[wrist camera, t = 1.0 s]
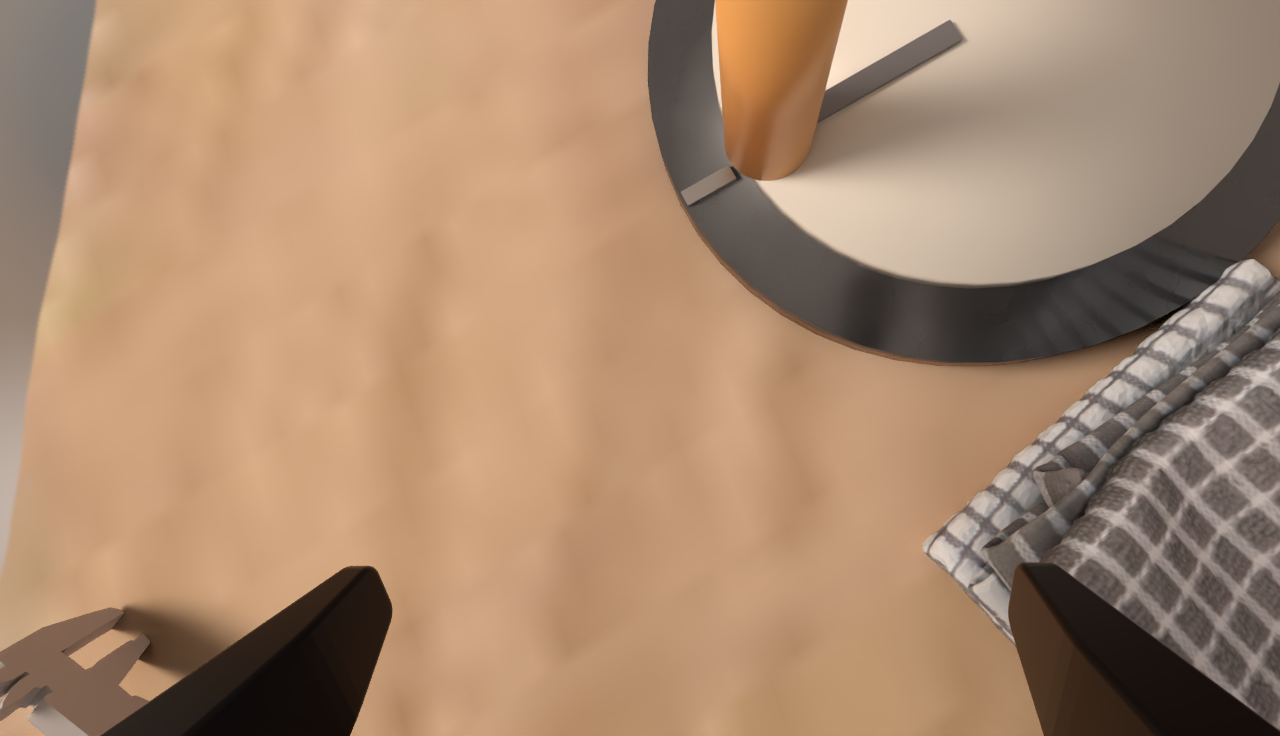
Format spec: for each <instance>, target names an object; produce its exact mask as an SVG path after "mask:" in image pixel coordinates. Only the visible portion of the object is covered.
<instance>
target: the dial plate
mask: <svg viewBox="0 0 1280 736" xmlns="http://www.w3.org/2000/svg"><path fill="white" fill-rule="evenodd" d="M714 4H715V0H656V2H655V6H654V12H653V18H652V25H651V31H650V38H649V49H648V87H649V95H650V104H651V112H652V119H653V123H654V127H655V131H656V135H657V139H658V143H659V146H660V150H661V154H662V158H663V161H664V164H665V167H666V171H667V173H668V176H669V178H670V180H671V183H672V185H673V188H674V190H675V192H676V195H677V197H678V200H679V202H680V204H681V206H682V208H683V209H684V211H685V213H686V215H687V216H688V218H689V220H690V221H691V223H692V225H693V227H694V228H695V230H696V232H697V233H698V235H699V236H700V238H701V239H702V240H703V242H704V243H705V244H706V245H707V247H708V248H709V249H710V250H711V252H712V253H713V254H714V256H715V257H716V258H717V259H718V261H719V262H720V263H721V264H722V265H723V266H724V267H725V268H726V269H727V270H728V271H729V272H730V273H731V274H732V275H733V276H734V277H735V278H736V279H737V280H738V281H739V282H740V283H741V284H742V285H743V286H744V287H745V288H746V289H747V290H748V291H749V292H751V293H752V294H753V295H755V296H756V297H758V298H759V299H760V300H762V301H763V302H764V303H766V304H767V305H768V306H770V307H771V308H772V309H774V310H775V311H776V312H778V313H779V314H781V315H782V316H784V317H786V318H788V319H789V320H791V321H793V322H795V323H797V324H798V325H800V326H802V327H804V328H806V329H807V330H809V331H811V332H813V333H815V334H817V335H819V336H822V337H824V338H827V339H829V340H832V341H834V342H837V343H839V344H842V345H844V346H847V347H849V348H852V349H854V350H858V351H862V352H866V353H870V354H874V355H878V356H881V357H885V358H889V359H893V360H898V361H906V362H914V363H922V364H929V365H937V366H987V365H995V364H1004V363H1012V362H1021V361H1029V360H1033V359H1038V358H1043V357H1048V356H1052V355H1056V354H1060V353H1064V352H1069V351H1073V350H1077V349H1081V348H1085V347H1089V346H1093V345H1096V344H1099V343H1102V342H1104V341H1107V340H1110V339H1112V338H1115V337H1117V336H1120V335H1123V334H1125V333H1128V332H1131V331H1133V330H1136V329H1139V328H1141V327H1143V326H1145V325H1147V324H1149V323H1150V322H1152V321H1154V320H1156V319H1158V318H1160V317H1162V316H1164V315H1166V314H1168V313H1169V312H1171V311H1173V310H1175V309H1177V308H1179V307H1181V306H1183V305H1184V304H1186V303H1187V302H1189V301H1190V300H1191V299H1193V298H1194V297H1196V296H1197V295H1199V294H1200V293H1201V292H1203V291H1204V290H1206V289H1207V288H1208V287H1210V286H1211V285H1213V284H1214V283H1216V282H1217V281H1218V280H1219V279H1220V278H1221V276H1222V275H1223V272H1224V271H1225V270H1226V269H1227V268H1228V267H1230V266H1232V265H1234V264H1236V263H1238V262H1240V261H1241V260H1242V259H1243V258H1245V257H1246V256H1247V255H1248V254H1249V253H1250V252H1251V251H1252V250H1253V249H1254V248H1255V247H1256V246H1257V245H1259V244H1260V242H1261V241H1262V240H1263V239H1264V237H1265V236H1266V235H1267V234H1268V233H1269V231H1270V230H1271V229H1272V228H1273V227H1274V225H1275V224H1276V223H1277V222H1278V220H1279V219H1280V83H1279V86H1278V89H1277V91H1276V94H1275V97H1274V100H1273V102H1272V105H1271V108H1270V109H1269V111H1268V113H1267V115H1266V117H1265V119H1264V121H1263V122H1262V124H1261V126H1260V128H1259V130H1258V132H1257V133H1256V135H1255V137H1254V139H1253V141H1252V142H1251V143H1250V145H1249V146H1248V148H1247V149H1246V150H1245V152H1244V153H1243V154H1242V156H1241V157H1240V158H1239V160H1238V161H1237V162H1236V164H1235V165H1234V166H1233V168H1232V169H1231V170H1230V172H1229V173H1228V174H1227V175H1226V176H1225V177H1224V178H1223V179H1222V180H1221V181H1220V182H1219V183H1218V184H1217V185H1216V186H1215V187H1214V188H1213V189H1212V190H1211V191H1210V192H1209V193H1208V194H1207V195H1206V196H1205V197H1204V198H1203V199H1202V200H1201V201H1200V202H1199V203H1198V204H1196V205H1195V206H1194V207H1192V208H1191V209H1190V210H1189V211H1187V212H1186V213H1185V214H1184V215H1182V216H1181V217H1180V218H1178V219H1177V220H1176V221H1175V222H1173V223H1172V224H1171V225H1169V226H1168V227H1166V228H1164V229H1163V230H1161V231H1159V232H1158V233H1156V234H1154V235H1152V236H1151V237H1149V238H1147V239H1146V240H1144V241H1142V242H1141V243H1139V244H1137V245H1136V246H1133V247H1131V248H1129V249H1127V250H1124V251H1122V252H1120V253H1118V254H1115V255H1113V256H1111V257H1109V258H1106V259H1104V260H1102V261H1099V262H1097V263H1095V264H1093V265H1090V266H1088V267H1086V268H1084V269H1081V270H1078V271H1074V272H1071V273H1068V274H1064V275H1061V276H1058V277H1054V278H1051V279H1048V280H1044V281H1038V282H1032V283H1026V284H1021V285H1015V286H1009V287H992V288H973V289H969V288H955V287H940V286H931V285H926V284H921V283H916V282H910V281H905V280H900V279H896V278H893V277H890V276H887V275H884V274H881V273H878V272H875V271H872V270H869V269H866V268H863V267H861V266H859V265H857V264H855V263H853V262H851V261H849V260H846V259H844V258H842V257H840V256H838V255H836V254H834V253H832V252H831V251H829V250H828V249H826V248H824V247H823V246H821V245H820V244H818V243H817V242H815V241H814V240H812V239H810V238H809V237H807V236H806V235H805V234H803V233H802V232H801V231H800V230H799V229H798V228H796V227H795V226H794V225H793V224H792V223H790V222H789V221H788V220H787V219H786V218H785V217H783V216H782V215H781V214H780V213H779V212H778V211H777V209H776V208H775V207H774V206H773V205H772V204H771V203H770V202H769V201H768V199H767V198H766V197H765V196H764V195H763V194H762V193H761V192H760V190H759V189H758V188H757V186H756V185H755V183H754V182H753V180H752V179H751V178H749V177H747V176H745V175H743V174H741V173H740V172H739V171H738V170H736V169H735V168H734V166H733V165H732V164H731V162H730V161H729V159H728V157H727V154H726V151H725V146H724V131H723V118H722V115H721V112H720V109H719V104H718V98H717V93H716V87H715V81H714V73H713V56H712V24H713V14H714Z"/></svg>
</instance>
